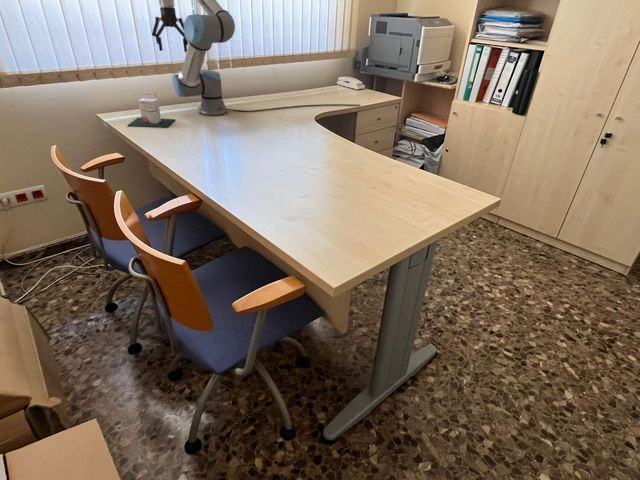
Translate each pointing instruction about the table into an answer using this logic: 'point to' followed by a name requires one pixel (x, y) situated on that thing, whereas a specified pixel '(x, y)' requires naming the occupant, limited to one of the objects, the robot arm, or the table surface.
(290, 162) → the table surface
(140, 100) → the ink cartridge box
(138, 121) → the desk mat
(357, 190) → the table surface
